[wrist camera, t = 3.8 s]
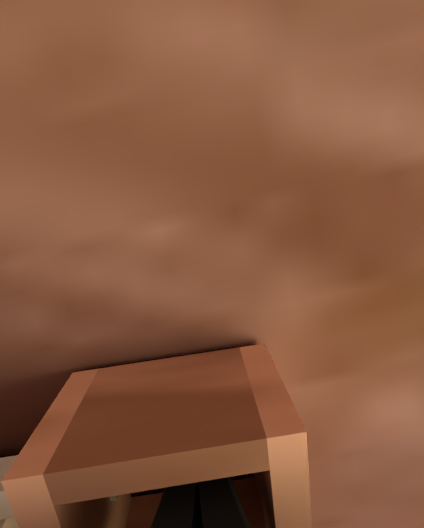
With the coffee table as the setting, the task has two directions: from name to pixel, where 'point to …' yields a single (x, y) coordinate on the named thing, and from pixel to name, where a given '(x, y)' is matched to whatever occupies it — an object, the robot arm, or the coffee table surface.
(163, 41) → the coffee table surface
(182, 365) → the pull frame
